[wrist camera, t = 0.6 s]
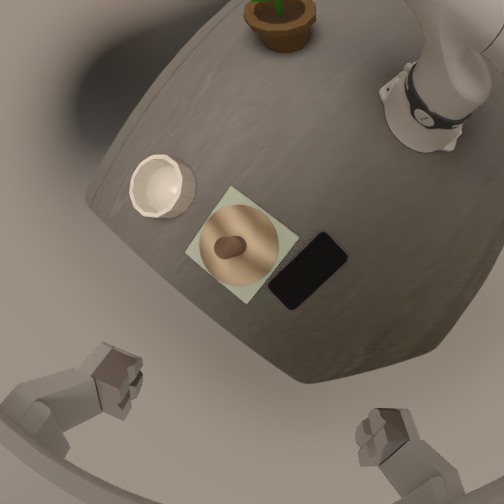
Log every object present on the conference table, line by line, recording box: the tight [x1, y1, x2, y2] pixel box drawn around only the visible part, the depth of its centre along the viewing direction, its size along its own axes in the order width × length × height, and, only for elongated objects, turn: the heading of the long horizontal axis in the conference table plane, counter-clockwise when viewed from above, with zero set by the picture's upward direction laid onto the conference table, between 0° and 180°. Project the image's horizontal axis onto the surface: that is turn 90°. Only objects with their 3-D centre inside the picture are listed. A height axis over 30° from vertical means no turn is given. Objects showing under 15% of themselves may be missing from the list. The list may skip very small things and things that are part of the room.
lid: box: [199, 205, 279, 286], centre depth 48 cm, size 15×15×8 cm
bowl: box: [129, 155, 196, 218], centre depth 52 cm, size 12×12×6 cm
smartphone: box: [267, 231, 348, 311], centre depth 50 cm, size 7×1×15 cm
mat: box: [185, 186, 299, 304], centre depth 52 cm, size 16×16×1 cm
